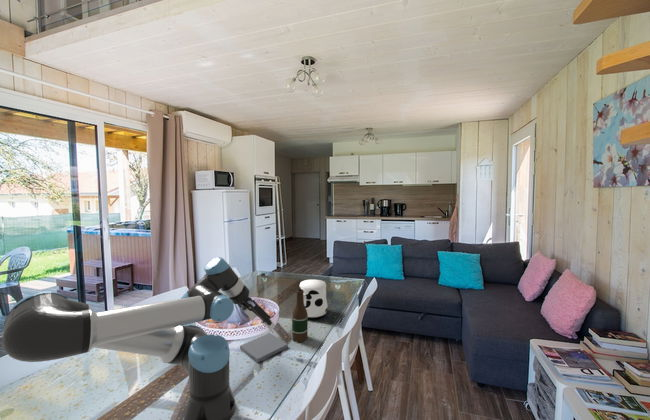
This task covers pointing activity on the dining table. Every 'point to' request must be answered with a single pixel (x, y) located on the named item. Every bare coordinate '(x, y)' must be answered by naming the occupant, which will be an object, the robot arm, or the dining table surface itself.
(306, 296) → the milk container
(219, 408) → the robot arm
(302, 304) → the beer bottle
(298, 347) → the dining table surface
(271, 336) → the slate board
